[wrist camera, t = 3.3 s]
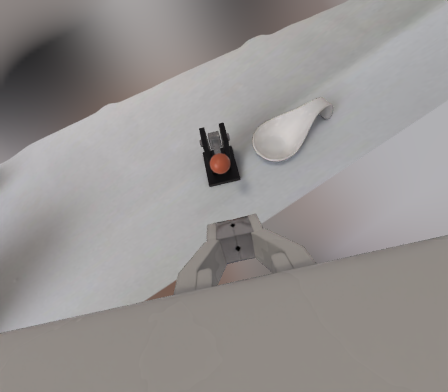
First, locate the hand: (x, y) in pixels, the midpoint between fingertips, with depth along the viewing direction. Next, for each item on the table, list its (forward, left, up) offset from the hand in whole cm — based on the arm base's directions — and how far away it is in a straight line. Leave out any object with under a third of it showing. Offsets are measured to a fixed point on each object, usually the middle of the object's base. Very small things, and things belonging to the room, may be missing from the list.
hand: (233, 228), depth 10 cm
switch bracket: (+19, -9, -28) cm, 35 cm away
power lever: (+14, -7, -16) cm, 22 cm away
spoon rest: (+13, -29, -28) cm, 43 cm away
